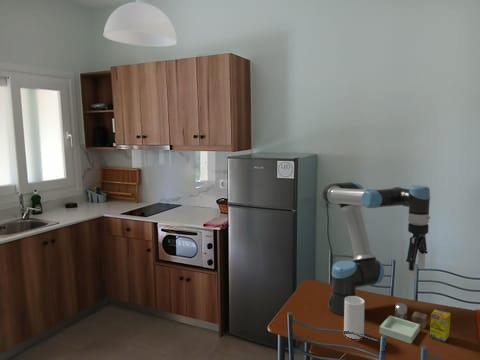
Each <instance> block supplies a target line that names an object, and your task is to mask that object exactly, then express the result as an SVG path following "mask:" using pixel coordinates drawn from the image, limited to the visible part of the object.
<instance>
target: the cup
mask: <svg viewBox="0 0 480 360" xmlns="http://www.w3.org/2000/svg"><path fill="white" fill-rule="evenodd" d="M343 318H344V319H343V332H344V331H349V332H354V333H358V334H363V335H364V334H365V300H364V299H363V298H361V297H360V296H357V295H356V296H348V297H346V298H345V304H344V315H343ZM345 335H346V336H347V337H349V338H352V339H360V338H361V337H359V336H357V335H354V334H345ZM345 335H344V336H345ZM364 336H365V335H364ZM347 337H346V338H347Z"/></svg>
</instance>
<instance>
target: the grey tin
mask: <svg viewBox="0 0 480 360" xmlns="http://www.w3.org/2000/svg"><path fill="white" fill-rule="evenodd" d="M394 307H395V308H394V317H397V318H400V319H404V320H407V319H408V317H407V316H408V305H407V304H405V303H401V302H396V303H395V306H394ZM407 321H408V320H407Z"/></svg>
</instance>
